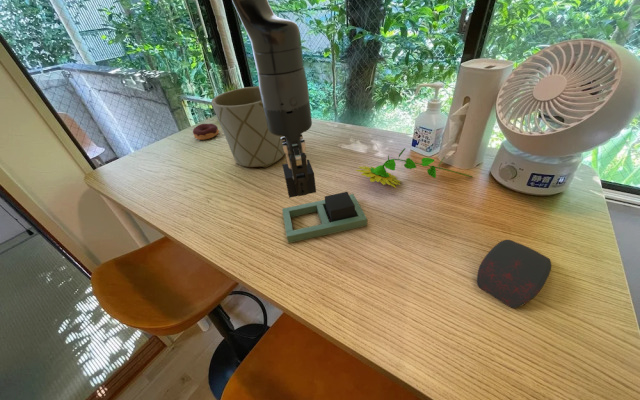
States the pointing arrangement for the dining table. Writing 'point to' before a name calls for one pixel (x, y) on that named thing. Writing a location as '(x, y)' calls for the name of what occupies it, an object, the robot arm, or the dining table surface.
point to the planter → (247, 127)
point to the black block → (291, 183)
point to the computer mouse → (513, 273)
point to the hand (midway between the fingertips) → (300, 185)
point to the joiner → (325, 225)
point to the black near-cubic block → (339, 206)
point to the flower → (385, 177)
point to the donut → (205, 131)
